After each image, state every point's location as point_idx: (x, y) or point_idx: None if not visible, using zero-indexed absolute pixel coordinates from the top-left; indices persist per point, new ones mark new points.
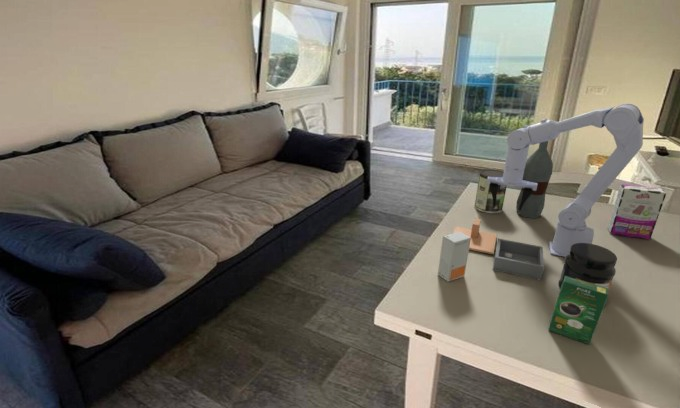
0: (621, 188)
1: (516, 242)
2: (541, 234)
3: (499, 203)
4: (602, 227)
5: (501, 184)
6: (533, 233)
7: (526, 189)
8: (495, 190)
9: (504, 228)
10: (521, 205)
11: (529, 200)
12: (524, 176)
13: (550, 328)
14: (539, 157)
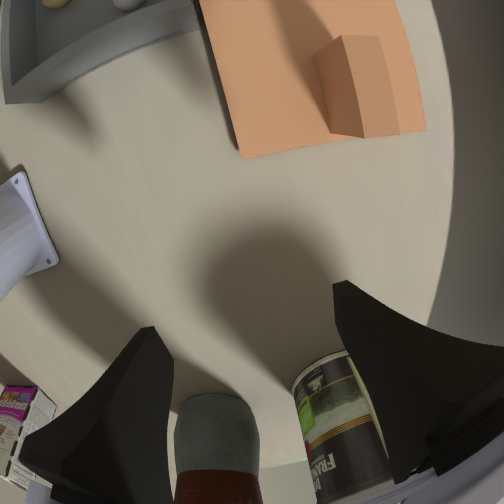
0: (20, 482)
1: (93, 36)
2: (109, 310)
3: (310, 402)
4: (64, 407)
5: (393, 495)
6: (131, 302)
7: (88, 499)
8: (451, 374)
9: (239, 275)
10: (124, 354)
11: (209, 447)
12: None
13: None
14: None
